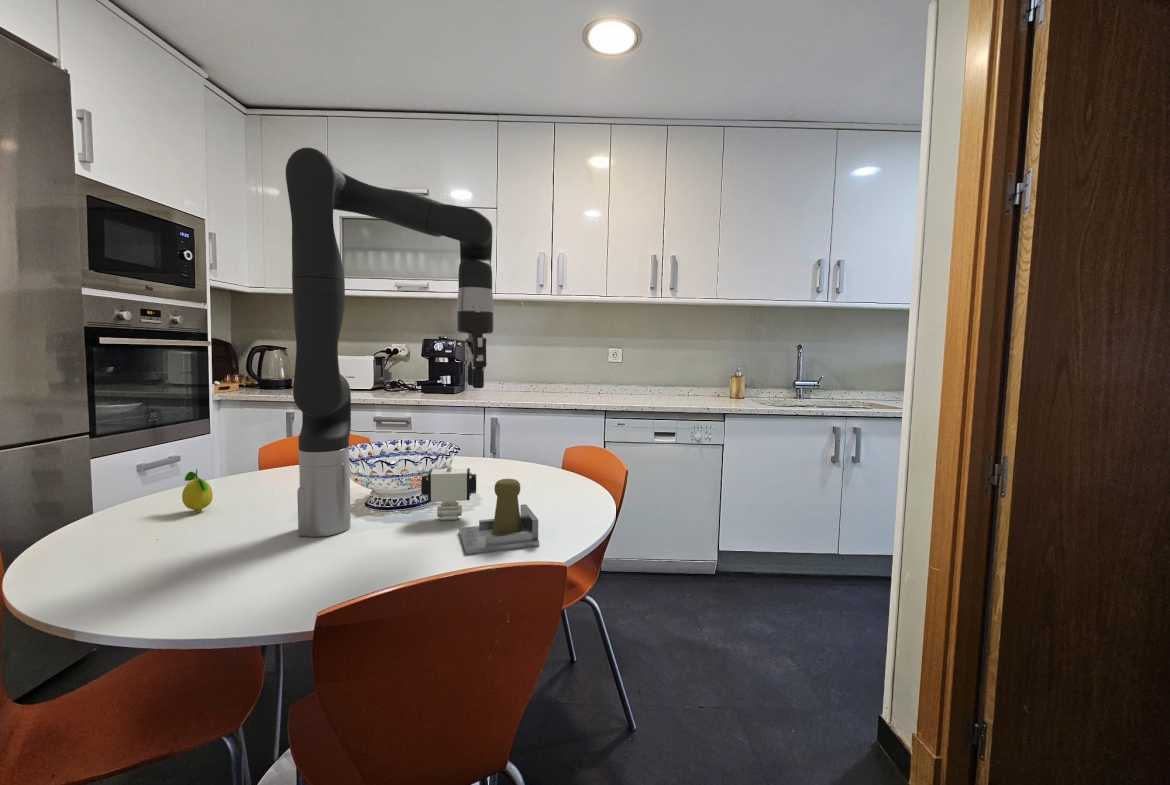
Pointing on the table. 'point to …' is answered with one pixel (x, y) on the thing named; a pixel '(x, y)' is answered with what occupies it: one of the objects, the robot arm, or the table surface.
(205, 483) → the lemon
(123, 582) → the table surface
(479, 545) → the bracket
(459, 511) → the pneumatic valve
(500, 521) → the cork
